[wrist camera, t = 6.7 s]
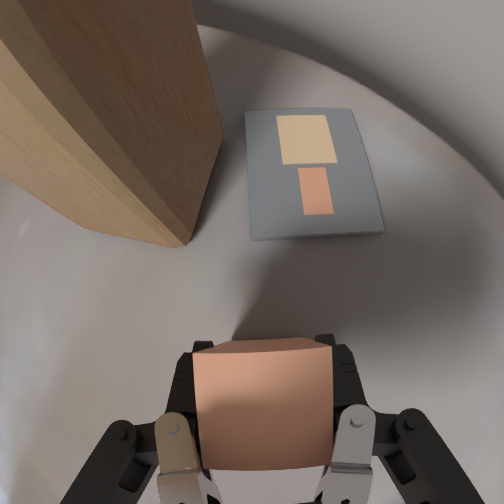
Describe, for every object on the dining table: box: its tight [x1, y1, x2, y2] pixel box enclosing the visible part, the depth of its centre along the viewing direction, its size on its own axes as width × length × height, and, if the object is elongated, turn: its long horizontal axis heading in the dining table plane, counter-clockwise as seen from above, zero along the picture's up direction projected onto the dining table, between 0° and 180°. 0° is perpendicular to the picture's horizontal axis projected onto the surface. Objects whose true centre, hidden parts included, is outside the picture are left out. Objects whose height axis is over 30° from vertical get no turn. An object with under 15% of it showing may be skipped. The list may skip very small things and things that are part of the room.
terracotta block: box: [193, 337, 333, 471], centre depth 11 cm, size 4×4×8 cm
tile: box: [244, 108, 385, 241], centre depth 19 cm, size 9×11×1 cm
